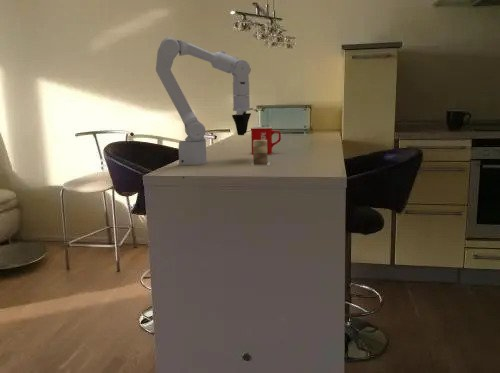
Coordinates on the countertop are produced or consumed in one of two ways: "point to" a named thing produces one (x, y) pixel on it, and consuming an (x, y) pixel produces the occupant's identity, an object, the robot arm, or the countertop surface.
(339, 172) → the countertop surface
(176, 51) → the robot arm
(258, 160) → the walnut block
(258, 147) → the beech block
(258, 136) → the mug
